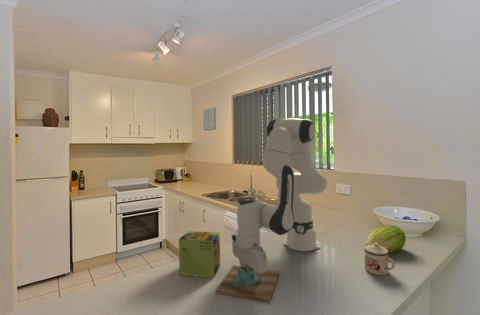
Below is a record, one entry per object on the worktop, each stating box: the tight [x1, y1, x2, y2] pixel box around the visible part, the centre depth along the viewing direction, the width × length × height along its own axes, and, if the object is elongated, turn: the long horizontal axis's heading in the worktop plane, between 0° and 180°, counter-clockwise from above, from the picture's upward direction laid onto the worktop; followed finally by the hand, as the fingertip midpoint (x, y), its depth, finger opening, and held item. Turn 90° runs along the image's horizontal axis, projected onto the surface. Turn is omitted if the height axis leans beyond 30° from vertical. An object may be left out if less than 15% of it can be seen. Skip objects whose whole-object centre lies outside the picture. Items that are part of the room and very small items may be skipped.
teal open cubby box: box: [232, 264, 261, 287], centre depth 97 cm, size 10×7×5 cm, turn 123°
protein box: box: [178, 230, 221, 278], centre depth 108 cm, size 10×15×16 cm
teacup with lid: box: [363, 243, 396, 276], centre depth 104 cm, size 12×9×12 cm
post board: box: [215, 264, 280, 303], centre depth 98 cm, size 20×20×7 cm
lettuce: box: [364, 224, 407, 253], centre depth 125 cm, size 13×22×14 cm
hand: (249, 274), depth 98 cm, fingers open, 7 cm apart
